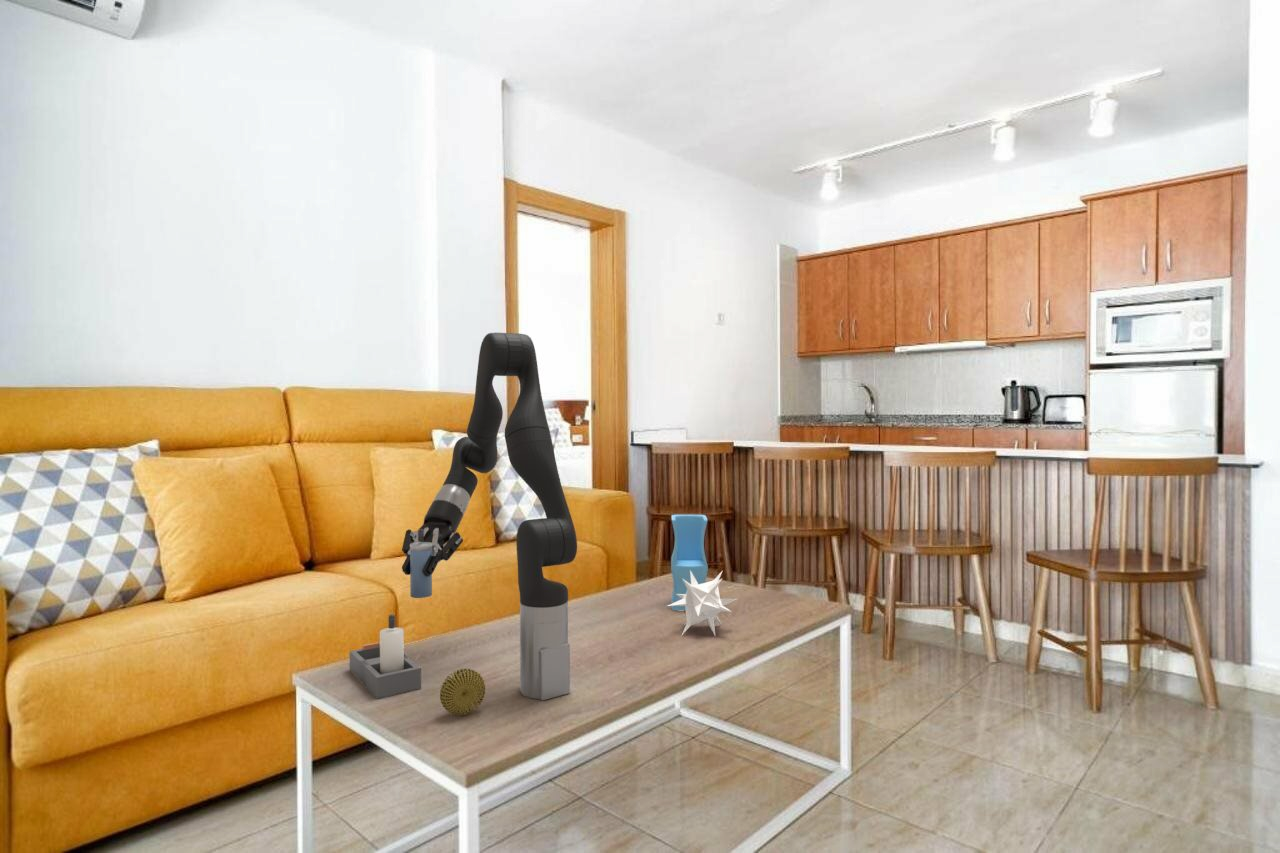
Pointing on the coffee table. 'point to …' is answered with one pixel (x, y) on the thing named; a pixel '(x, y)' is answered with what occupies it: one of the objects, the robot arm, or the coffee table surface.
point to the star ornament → (702, 602)
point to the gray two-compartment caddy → (386, 664)
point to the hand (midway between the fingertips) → (415, 573)
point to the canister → (420, 567)
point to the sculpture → (462, 692)
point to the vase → (688, 553)
